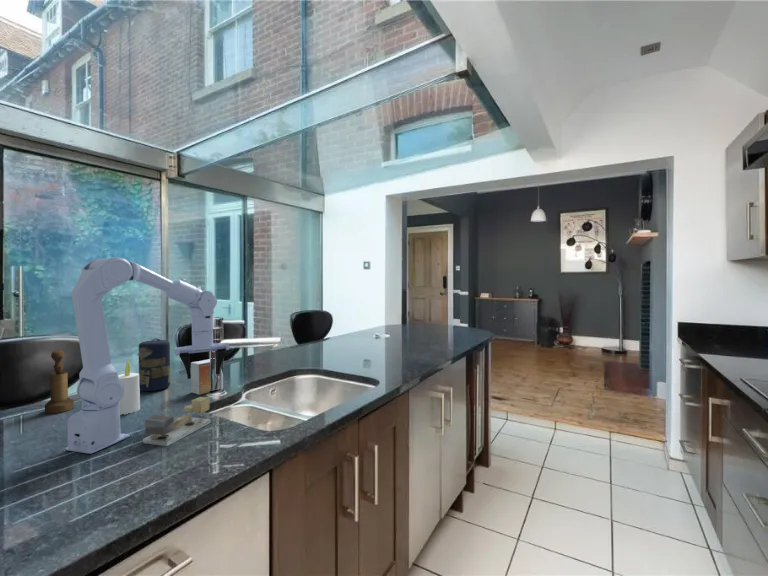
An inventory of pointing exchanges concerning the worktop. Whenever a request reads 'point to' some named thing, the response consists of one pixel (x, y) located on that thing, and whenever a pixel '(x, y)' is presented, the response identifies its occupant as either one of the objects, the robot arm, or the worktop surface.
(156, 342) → the canister
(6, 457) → the worktop surface
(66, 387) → the brown tall knobbed cylinder
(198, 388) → the small box
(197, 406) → the sliding leg
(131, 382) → the candle
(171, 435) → the bolt plate
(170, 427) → the grey blocky hammer
